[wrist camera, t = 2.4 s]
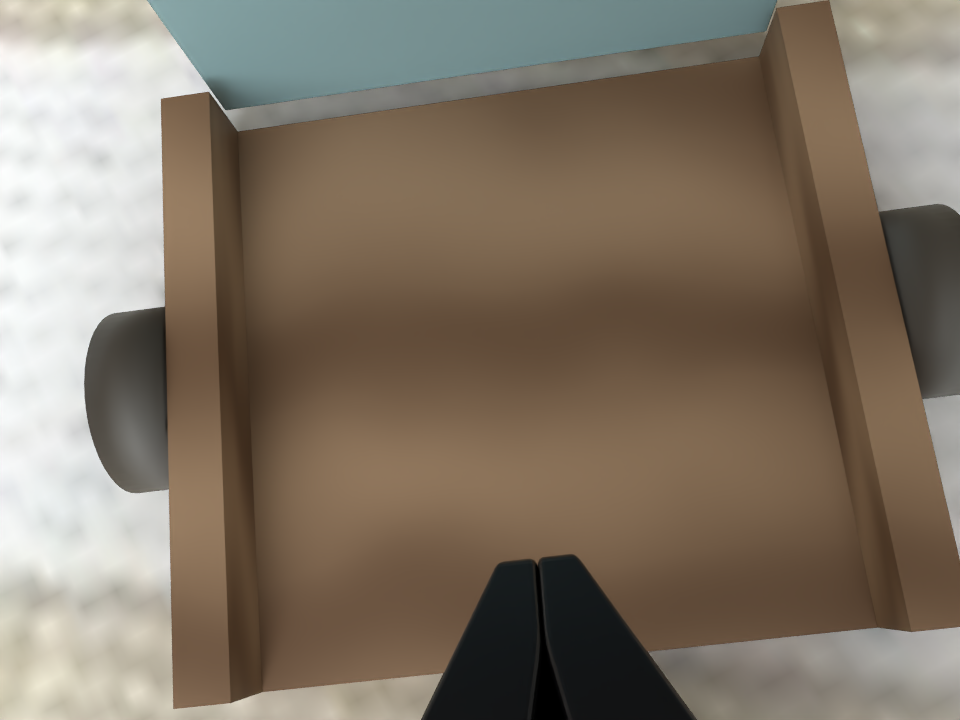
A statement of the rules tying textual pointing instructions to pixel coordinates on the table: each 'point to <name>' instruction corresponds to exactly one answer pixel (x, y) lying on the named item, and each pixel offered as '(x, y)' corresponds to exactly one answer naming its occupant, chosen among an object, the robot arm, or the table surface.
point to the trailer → (537, 370)
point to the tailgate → (421, 38)
